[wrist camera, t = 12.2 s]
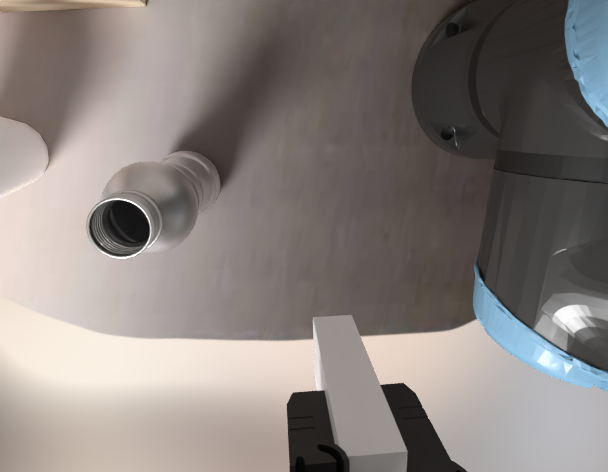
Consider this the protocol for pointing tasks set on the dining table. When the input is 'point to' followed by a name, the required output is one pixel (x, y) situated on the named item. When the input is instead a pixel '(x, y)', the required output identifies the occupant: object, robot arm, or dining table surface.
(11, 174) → the foam cup
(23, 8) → the corral
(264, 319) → the dining table surface
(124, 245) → the plastic bottle
